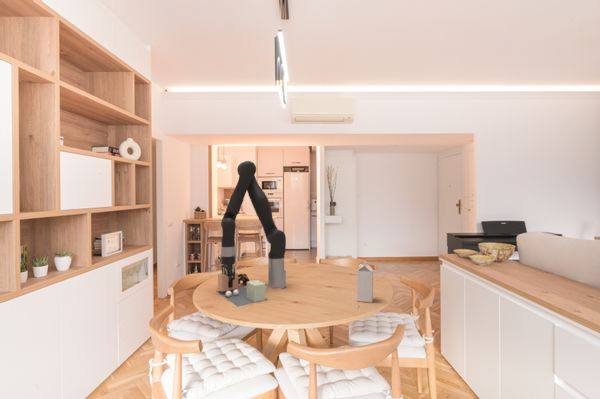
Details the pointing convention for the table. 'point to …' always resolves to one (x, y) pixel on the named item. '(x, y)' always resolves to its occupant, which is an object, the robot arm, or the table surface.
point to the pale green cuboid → (256, 290)
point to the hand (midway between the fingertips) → (228, 286)
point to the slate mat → (238, 297)
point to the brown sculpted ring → (242, 278)
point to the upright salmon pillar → (226, 282)
